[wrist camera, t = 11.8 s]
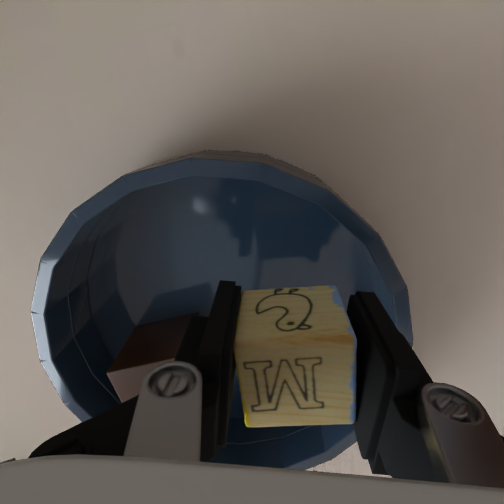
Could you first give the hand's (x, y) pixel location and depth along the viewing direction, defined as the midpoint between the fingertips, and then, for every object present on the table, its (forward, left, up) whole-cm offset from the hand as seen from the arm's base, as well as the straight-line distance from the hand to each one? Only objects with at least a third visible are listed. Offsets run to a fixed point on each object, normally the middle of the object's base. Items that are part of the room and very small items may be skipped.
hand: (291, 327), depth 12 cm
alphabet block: (0, 0, 0) cm, 0 cm away
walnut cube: (+5, +5, -5) cm, 9 cm away
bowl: (+3, +2, -6) cm, 7 cm away
